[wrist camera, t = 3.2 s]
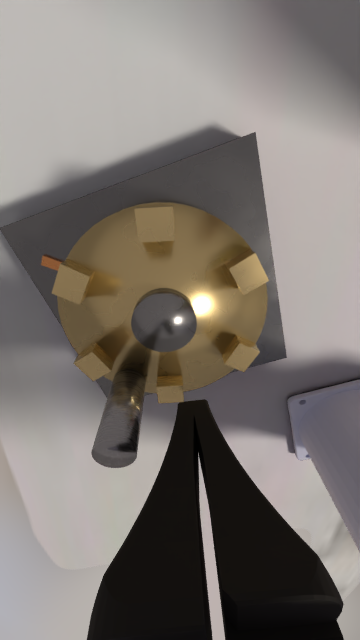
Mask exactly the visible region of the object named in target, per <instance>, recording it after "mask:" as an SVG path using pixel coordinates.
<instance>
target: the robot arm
mask: <svg viewBox="0 0 360 640" xmlns="http://www.w3.org/2000/svg"><path fill="white" fill-rule="evenodd" d="M287 403H288V409H289V416H290V422H291V429H292V435H293V442H294V448H295V455H296V457H297V459H298V460H306V459H311V460H312V462H313V464H314V466H315V468H316V470H317V471H318V473H319V475H320V477H321V479H322V481H323V483H324V485H325V487H326V489H327V491H328V492H329V494H330V496H331V498H332V500H333V502H334V504H335V506H336V508H337V510H338V512H339V513H340V515H341V517H342V519H343V521H344V523H345V525H346V527H347V529H348V531H349V533H350V535H351V536H352V538H353V540H354V542H355V544H356V546H357V548H358V550H359V552H360V379H359V380H355V381H351V382H347V383H343V384H339V385H335V386H331V387H327V388H323V389H319V390H315V391H311V392H307V393H303V394H299V395H295V396H292V397H290V398H289V399H288V401H287ZM198 453H199V458H200V463H201V468H202V473H203V478H204V483H205V488H206V493H207V499H208V504H209V510H210V517H211V525H212V533H213V541H214V550H215V558H216V566H217V574H218V582H219V590H220V599H221V607H222V615H223V624H224V632H225V640H344V639H343V635H342V633H341V630H340V628H339V625H338V623H337V618H338V616H339V615H340V613H341V612H342V608H343V601H342V599H341V596H340V594H339V592H338V590H337V588H336V586H335V584H334V582H333V580H332V578H331V577H330V575H329V573H328V571H327V570H326V568H325V566H324V565H323V563H322V561H321V560H320V558H319V557H318V555H317V554H316V553H315V552H314V551H313V550H312V549H311V548H310V547H309V546H308V545H307V544H306V543H305V542H304V541H303V540H302V538H300V536H299V535H298V534H297V533H296V532H295V531H294V530H293V529H292V528H291V527H290V525H289V524H288V523H287V522H286V521H285V520H284V519H283V518H282V516H281V515H280V514H279V513H278V512H277V511H276V509H275V508H274V507H273V506H272V505H271V503H270V502H269V501H268V500H267V499H266V497H265V496H264V495H263V494H262V493H261V491H260V490H259V489H258V488H257V486H256V485H255V484H254V482H253V481H252V480H251V478H250V477H249V476H248V474H247V473H246V471H245V470H244V469H243V467H242V466H241V464H240V463H239V461H238V460H237V458H236V457H235V455H234V454H233V452H232V450H231V449H230V447H229V445H228V444H227V442H226V440H225V439H224V437H223V435H222V433H221V431H220V430H219V428H218V426H217V424H216V422H215V420H214V417H213V415H212V413H211V410H210V408H209V405H208V401H207V400H195V401H186V402H180V403H179V404H178V409H177V416H176V421H175V425H174V429H173V433H172V436H171V440H170V443H169V446H168V449H167V452H166V455H165V458H164V461H163V463H162V466H161V468H160V471H159V473H158V476H157V478H156V481H155V483H154V485H153V487H152V490H151V492H150V494H149V496H148V498H147V500H146V502H145V504H144V506H143V508H142V510H141V512H140V514H139V516H138V518H137V520H136V521H135V523H134V525H133V527H132V529H131V530H130V532H129V534H128V536H127V538H126V539H125V541H124V543H123V545H122V546H121V548H120V549H119V551H118V553H117V554H116V556H115V558H114V559H113V561H112V562H111V564H110V566H109V567H108V569H107V571H106V572H105V574H104V576H103V579H102V581H101V584H100V587H99V590H98V593H97V596H96V600H95V603H94V607H93V611H92V615H91V620H90V625H89V631H88V637H87V640H212V630H211V621H210V610H209V600H208V590H207V580H206V571H205V560H204V550H203V540H202V529H201V519H200V504H199V464H198Z"/></svg>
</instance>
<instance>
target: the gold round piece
mask: <svg viewBox="0 0 360 640" xmlns="http://www.w3.org/2000/svg"><path fill="white" fill-rule="evenodd" d="M268 281H269V280H268V277H267V275H266V273H265V271H264V269H263V267H262V265H261V263H260V261H259V259H258V257H257V255H256V253H255V252H254V251H253V250H252V249H251V248H250V246H249V245H248V244H247V243H246V241H245V240H244V239H243V238H242V237H241V236H240V235H239V234H238V233H237V232H236V231H235V230H234V229H233V228H232V227H230V226H229V225H227V224H226V223H224V222H223V221H221V220H220V219H218V218H217V217H215V216H213V215H212V214H210V213H207V212H205V211H203V210H201V209H199V208H196V207H193V206H189V205H186V204H181V203H175V202H150V203H142V204H138V205H135V206H131V207H128V208H126V209H123V210H121V211H119V212H116V213H114V214H112V215H110V216H108V217H106V218H104V219H103V220H101V221H100V222H98V223H97V224H95V225H94V226H93V227H91V228H90V229H89V230H88V231H87V232H86V233H85V234H84V235H83V236H82V237H81V238H80V239H79V240H78V242H77V243H76V244H75V245H74V246H73V248H72V250H71V251H70V253H69V255H68V257H67V258H66V260H65V261H64V262H62V263H61V264H60V266H59V270H58V273H57V276H56V280H55V283H54V286H53V290H52V294H54V295H57V301H58V312H59V316H60V320H61V324H62V326H63V329H64V332H65V334H66V336H67V338H68V340H69V341H70V343H71V345H72V347H73V348H74V349H75V351H76V352H77V353H78V356H77V358H76V360H75V362H74V364H75V365H76V366H77V367H78V368H79V369H80V370H81V371H82V372H83V373H85V374H86V375H87V376H88V377H89V378H90V379H91V380H92V381H95V380H96V379H98V378H100V377H102V376H104V377H105V378H107V379H109V380H111V381H113V382H112V385H111V388H110V392H109V395H108V398H107V402H106V405H105V408H104V412H103V415H102V419H101V422H100V425H99V429H98V432H97V435H96V439H95V442H94V445H93V449H92V457H93V458H94V460H95V461H96V462H97V463H99V464H101V465H103V466H106V467H111V468H121V467H125V466H128V465H130V464H132V463H133V462H134V461H135V459H136V457H137V450H138V442H139V434H140V426H141V417H142V409H143V401H144V393H145V392H148V393H157V396H158V403H174V402H184V396H183V392H186V391H190V390H194V389H198V388H201V387H204V386H206V385H208V384H211V383H213V382H215V381H217V380H219V379H220V378H222V377H224V376H225V375H227V374H228V373H230V372H231V371H232V370H234V369H237V370H240V371H242V372H245V370H246V369H247V368H248V367H249V365H250V364H251V363H252V362H253V360H254V359H255V358H256V357H257V355H258V354H259V353H260V351H259V349H258V348H257V346H256V342H257V340H258V338H259V336H260V334H261V332H262V329H263V326H264V323H265V318H266V313H267V302H268V296H267V286H266V282H268Z"/></svg>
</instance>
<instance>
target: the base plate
mask: <svg viewBox="0 0 360 640" xmlns="http://www.w3.org/2000/svg"><path fill="white" fill-rule="evenodd" d="M150 202H175V203H181V204H186V205H189V206H193V207H196V208H199V209H201V210H203V211H205V212H207V213H210V214H212V215H213V216H215V217H217V218H218V219H220V220H221V221H223V222H224V223H226V224H227V225H229V226H230V227H232V228H233V229H234V230H235V231H236V232H237V233H238V234H239V235H240V236H241V237H242V238H243V239H244V240H245V241H246V243H247V244H248V245H249V246H250V248H251V249H252V250H253V251H254V252H255V253H256V255H257V257H258V259H259V261H260V263H261V265H262V267H263V269H264V271H265V273H266V275H267V277H268V280H269V281H268V282H266V286H267V296H268V302H267V313H266V318H265V323H264V326H263V329H262V332H261V334H260V336H259V338H258V340H257V342H256V346H257V348H258V349H259V351H260V353H259V354H258V355H257V357H256V358H255V359H254V360H253V362H252V363H251V364H250V365H249V367H248V368H250V367H253V366H257V365H261V364H264V363H268V362H272V361H276V360H279V359H283V358H287V357H286V349H285V342H284V335H283V328H282V320H281V313H280V306H279V299H278V292H277V284H276V277H275V270H274V263H273V256H272V248H271V241H270V234H269V227H268V219H267V212H266V205H265V198H264V191H263V183H262V176H261V169H260V162H259V155H258V147H257V140H256V133H255V132H254V133H251V134H249V135H246V136H243V137H241V138H238V139H235V140H233V141H230V142H228V143H225V144H222V145H220V146H217V147H214V148H212V149H209V150H206V151H204V152H201V153H198V154H196V155H193V156H190V157H188V158H185V159H182V160H180V161H177V162H174V163H172V164H169V165H166V166H164V167H161V168H158V169H156V170H153V171H150V172H148V173H145V174H142V175H140V176H137V177H134V178H132V179H129V180H126V181H124V182H121V183H118V184H116V185H113V186H110V187H108V188H105V189H103V190H100V191H97V192H95V193H92V194H89V195H87V196H84V197H81V198H79V199H76V200H73V201H71V202H68V203H65V204H63V205H60V206H57V207H55V208H52V209H49V210H47V211H44V212H41V213H39V214H36V215H33V216H31V217H28V218H25V219H23V220H20V221H17V222H15V223H12V224H9V225H7V226H4V227H1V228H0V230H1V231H2V233H3V235H4V236H5V238H6V239H7V241H8V242H9V244H10V246H11V247H12V249H13V250H14V252H15V253H16V255H17V257H18V258H19V260H20V261H21V263H22V264H23V266H24V268H25V269H26V271H27V272H28V274H29V276H30V277H31V279H32V280H33V282H34V283H35V285H36V287H37V288H38V290H39V291H40V293H41V294H42V296H43V298H44V299H45V301H46V302H47V304H48V305H49V307H50V309H51V310H52V312H53V313H54V315H55V316H56V318H57V320H58V321H59V323H60V324H61V320H60V316H59V312H58V301H57V295H54V294H52V290H53V286H54V283H55V280H56V276H57V273H58V270H59V266H60V264H61V263H62V262H64V261H65V260H66V258H67V257H68V255H69V253H70V251H71V250H72V248H73V246H74V245H75V244H76V243H77V242H78V240H79V239H80V238H81V237H82V236H83V235H84V234H85V233H86V232H87V231H88V230H89V229H90V228H91V227H93V226H94V225H95V224H97V223H98V222H100V221H101V220H103V219H104V218H106V217H108V216H110V215H112V214H114V213H116V212H119V211H121V210H123V209H126V208H128V207H131V206H135V205H138V204H142V203H150ZM61 326H62V324H61ZM62 327H63V326H62ZM235 371H238V370H237V369H234V370H232V371H231V372H235ZM231 372H230V373H231ZM96 381H97V383H98V384H99V386H100V387H101V389H102V390H103V392H104V394H105V395H106V397H107V398H108V395H109V392H110V388H111V385H112V382H113V381H111V380H109V379H107V378H105V377H104V376H102V377H100V378H98V379H96ZM149 394H152V393H148V392H145V393H144V396H145V395H149Z"/></svg>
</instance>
